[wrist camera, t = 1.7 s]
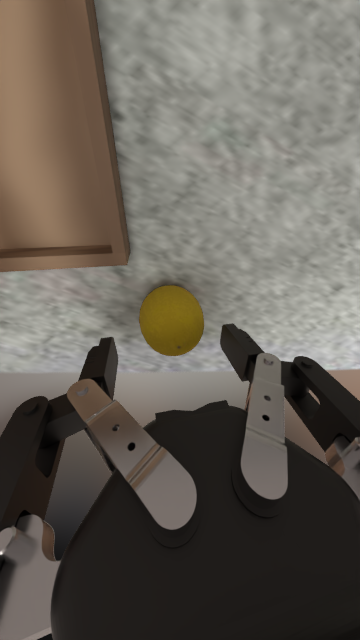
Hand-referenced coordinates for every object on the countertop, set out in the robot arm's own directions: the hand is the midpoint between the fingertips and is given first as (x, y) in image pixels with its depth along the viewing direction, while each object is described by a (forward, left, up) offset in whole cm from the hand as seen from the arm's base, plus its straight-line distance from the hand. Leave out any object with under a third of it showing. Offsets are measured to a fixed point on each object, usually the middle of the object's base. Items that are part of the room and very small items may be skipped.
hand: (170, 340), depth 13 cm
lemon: (-1, 0, -7) cm, 7 cm away
